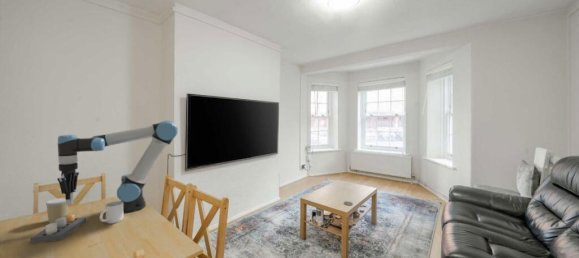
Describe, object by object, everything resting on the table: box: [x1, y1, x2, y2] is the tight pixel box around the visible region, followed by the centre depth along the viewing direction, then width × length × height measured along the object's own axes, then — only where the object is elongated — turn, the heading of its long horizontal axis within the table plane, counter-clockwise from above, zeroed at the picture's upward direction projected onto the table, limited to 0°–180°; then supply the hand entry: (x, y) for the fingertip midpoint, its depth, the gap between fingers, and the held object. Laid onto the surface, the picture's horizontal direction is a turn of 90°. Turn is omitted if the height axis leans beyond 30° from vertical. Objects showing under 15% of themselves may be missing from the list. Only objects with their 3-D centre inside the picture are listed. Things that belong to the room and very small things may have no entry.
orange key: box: [65, 213, 76, 223], centre depth 126 cm, size 4×4×5 cm
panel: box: [30, 217, 87, 244], centre depth 120 cm, size 12×20×2 cm, turn 14°
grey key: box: [56, 217, 66, 229], centre depth 120 cm, size 4×4×5 cm
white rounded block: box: [44, 223, 57, 236], centre depth 113 cm, size 4×4×5 cm
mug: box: [99, 200, 125, 225], centre depth 131 cm, size 12×8×10 cm
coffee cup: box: [45, 197, 70, 224], centre depth 131 cm, size 9×9×12 cm
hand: (69, 204), depth 126 cm, fingers closed
